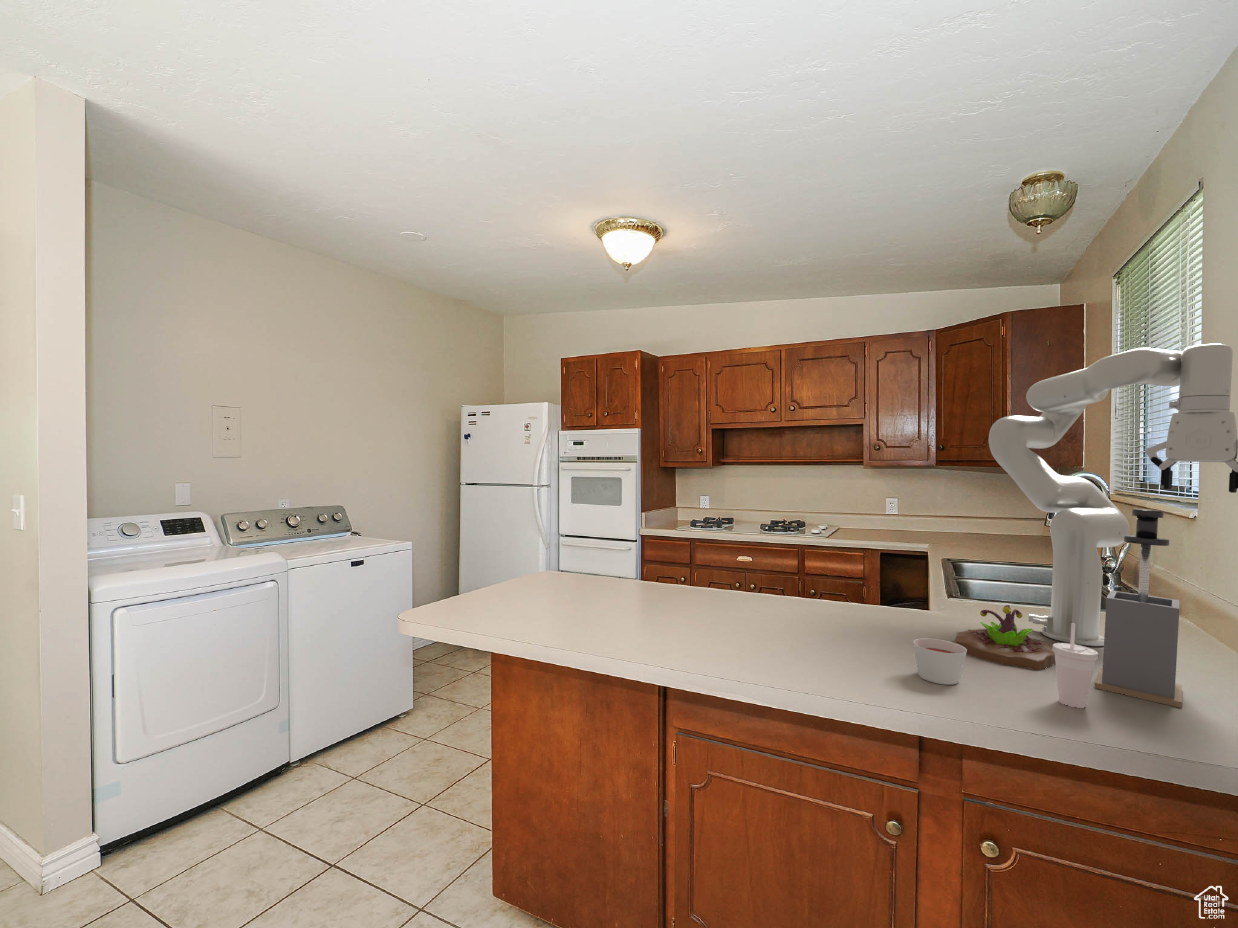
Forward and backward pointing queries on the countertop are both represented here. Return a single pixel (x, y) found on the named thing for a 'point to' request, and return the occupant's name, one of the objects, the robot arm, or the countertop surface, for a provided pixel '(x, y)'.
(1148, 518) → the plunger
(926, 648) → the candle
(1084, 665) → the smoothie
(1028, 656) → the plant
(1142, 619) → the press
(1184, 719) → the countertop surface
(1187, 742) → the countertop surface
